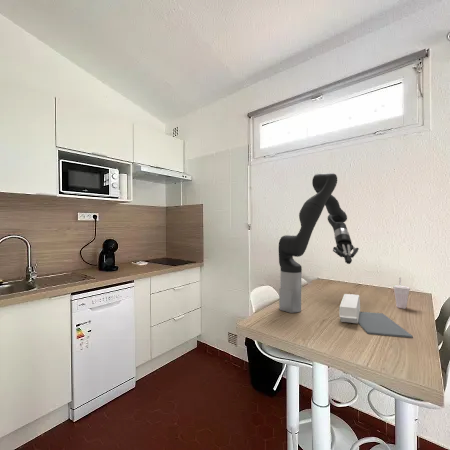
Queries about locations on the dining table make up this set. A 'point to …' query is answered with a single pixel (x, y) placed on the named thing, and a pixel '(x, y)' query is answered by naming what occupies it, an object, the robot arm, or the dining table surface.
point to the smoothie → (401, 295)
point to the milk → (349, 308)
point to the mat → (380, 325)
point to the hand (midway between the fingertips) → (349, 262)
